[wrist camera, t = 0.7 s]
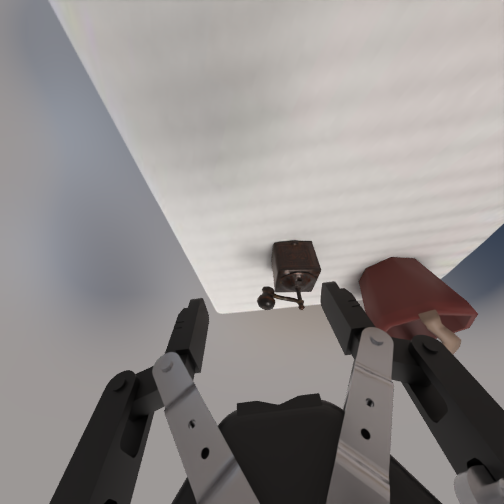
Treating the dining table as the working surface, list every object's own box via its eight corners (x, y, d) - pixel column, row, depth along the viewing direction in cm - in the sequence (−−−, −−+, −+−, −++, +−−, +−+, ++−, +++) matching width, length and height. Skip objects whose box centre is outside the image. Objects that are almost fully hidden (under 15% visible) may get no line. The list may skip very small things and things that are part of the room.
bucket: (366, 250, 54) (421, 345, 37) (449, 242, 53) (545, 337, 36) (344, 294, 72) (375, 371, 55) (406, 289, 71) (456, 366, 54)
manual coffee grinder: (313, 238, 50) (335, 302, 38) (305, 265, 58) (321, 324, 46) (254, 240, 50) (257, 304, 38) (254, 266, 58) (256, 325, 46)
